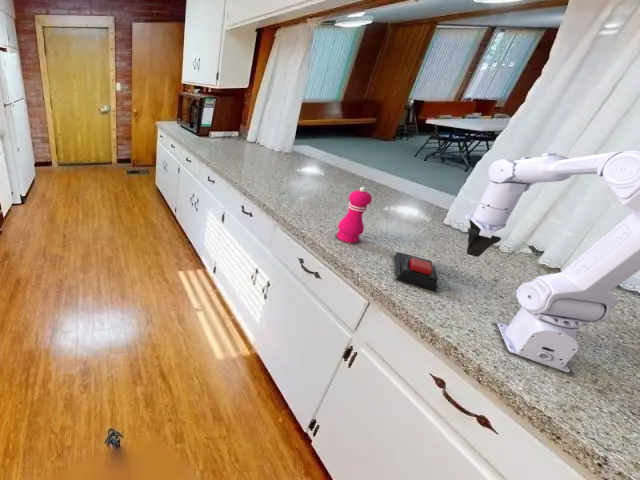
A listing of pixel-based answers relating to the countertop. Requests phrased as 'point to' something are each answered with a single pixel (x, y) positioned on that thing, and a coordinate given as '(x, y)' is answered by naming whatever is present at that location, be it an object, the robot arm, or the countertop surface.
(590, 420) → the countertop surface
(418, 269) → the block
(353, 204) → the pepper mill
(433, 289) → the press
